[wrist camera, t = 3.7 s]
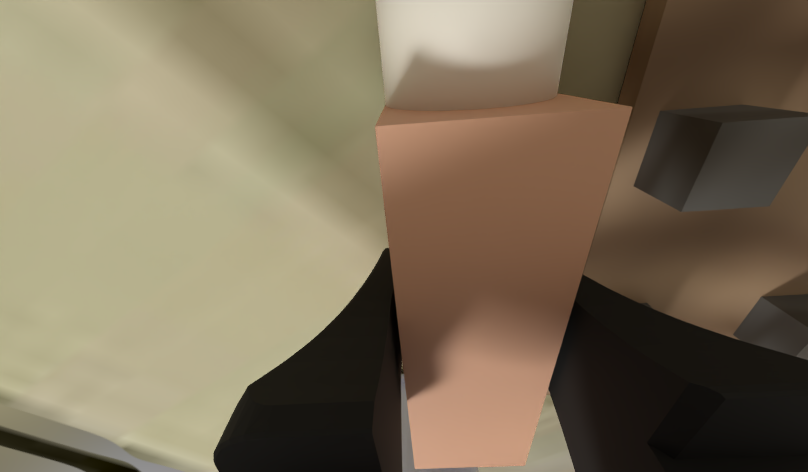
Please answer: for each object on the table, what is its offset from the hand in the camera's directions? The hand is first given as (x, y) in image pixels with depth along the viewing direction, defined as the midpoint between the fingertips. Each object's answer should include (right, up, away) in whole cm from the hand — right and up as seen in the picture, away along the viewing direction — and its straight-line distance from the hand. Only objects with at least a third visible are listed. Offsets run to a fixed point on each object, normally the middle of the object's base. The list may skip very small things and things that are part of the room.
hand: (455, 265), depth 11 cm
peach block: (0, +2, +1) cm, 2 cm away
